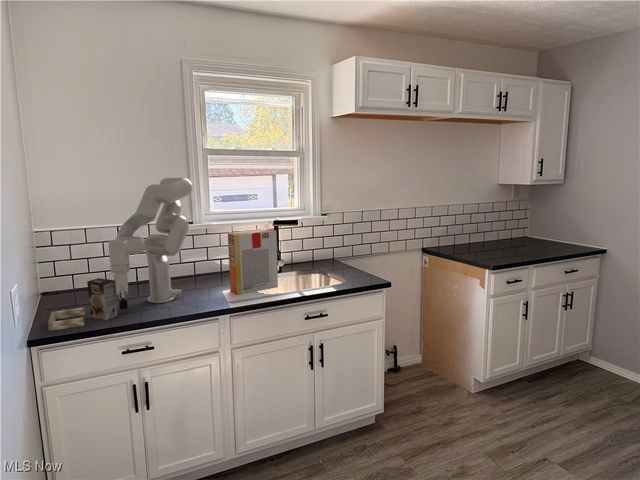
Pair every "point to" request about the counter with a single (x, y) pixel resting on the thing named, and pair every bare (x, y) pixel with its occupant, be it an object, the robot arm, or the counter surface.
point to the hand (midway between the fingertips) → (123, 308)
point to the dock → (66, 323)
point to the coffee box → (102, 298)
